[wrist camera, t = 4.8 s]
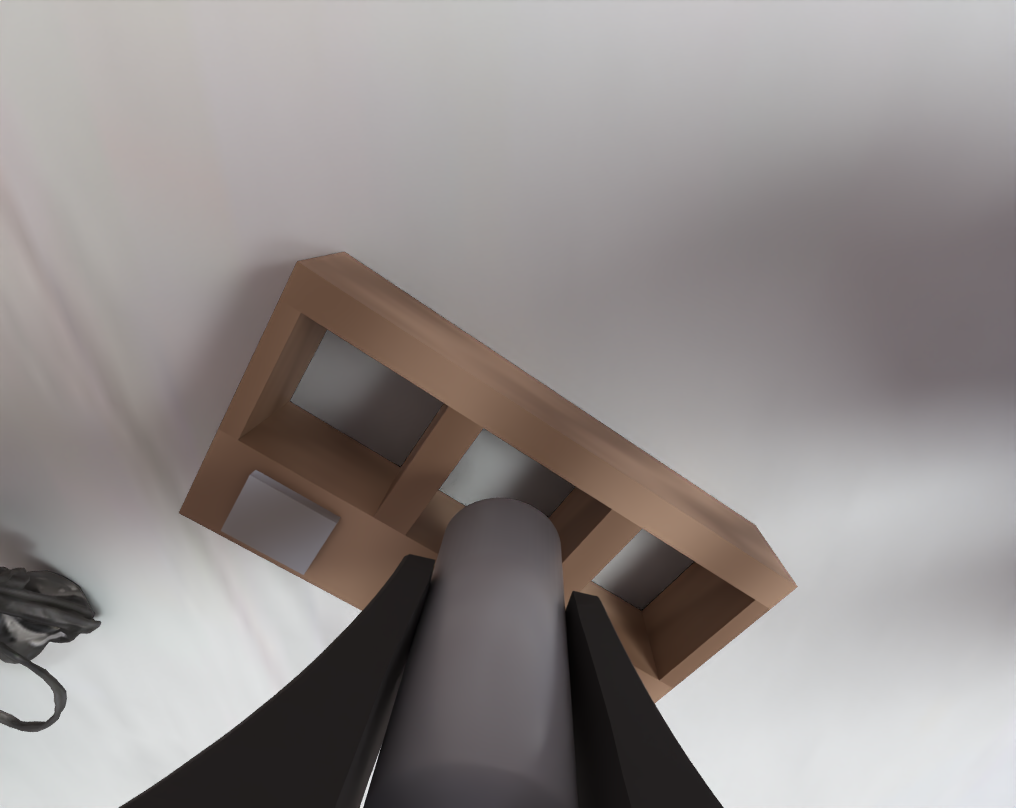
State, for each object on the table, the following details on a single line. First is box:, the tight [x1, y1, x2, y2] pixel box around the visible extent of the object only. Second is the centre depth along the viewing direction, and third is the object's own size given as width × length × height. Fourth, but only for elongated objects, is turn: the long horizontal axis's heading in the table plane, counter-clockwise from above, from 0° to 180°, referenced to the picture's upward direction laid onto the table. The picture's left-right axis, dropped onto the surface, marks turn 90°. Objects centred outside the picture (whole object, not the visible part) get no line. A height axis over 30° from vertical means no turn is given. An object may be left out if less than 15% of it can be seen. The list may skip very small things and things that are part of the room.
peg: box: [363, 498, 579, 808], centre depth 10 cm, size 3×3×6 cm
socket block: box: [179, 252, 798, 704], centre depth 16 cm, size 17×9×3 cm, turn 56°
